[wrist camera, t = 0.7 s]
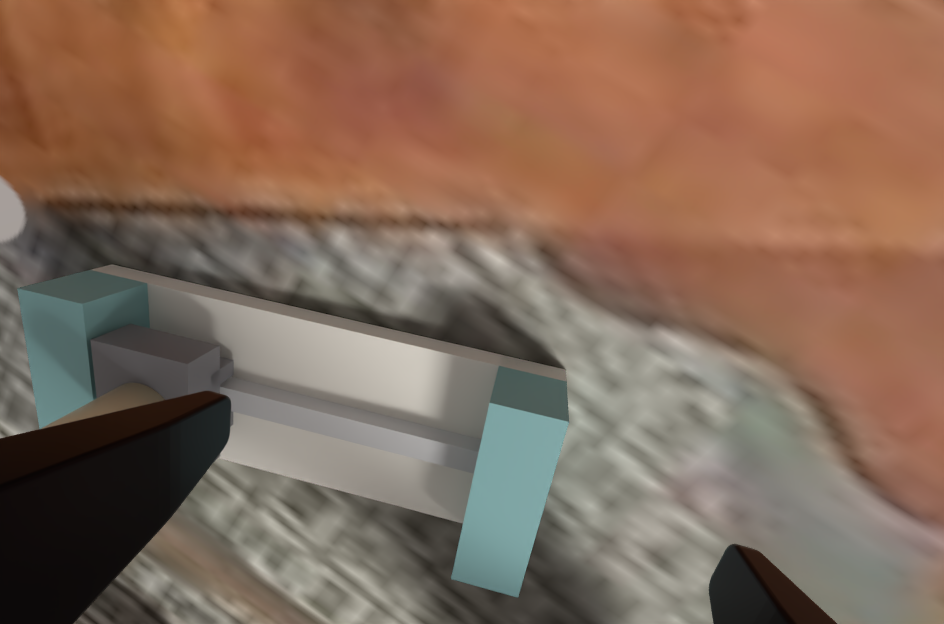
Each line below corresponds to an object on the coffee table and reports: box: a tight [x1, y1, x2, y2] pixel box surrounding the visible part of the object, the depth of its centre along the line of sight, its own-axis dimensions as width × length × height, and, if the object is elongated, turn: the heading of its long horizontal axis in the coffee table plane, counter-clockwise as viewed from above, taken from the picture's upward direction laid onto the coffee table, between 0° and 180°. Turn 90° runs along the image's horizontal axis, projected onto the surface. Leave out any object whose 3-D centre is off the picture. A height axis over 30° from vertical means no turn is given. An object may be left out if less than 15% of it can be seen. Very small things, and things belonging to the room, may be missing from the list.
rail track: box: [17, 264, 569, 598], centre depth 22 cm, size 9×23×4 cm, turn 79°
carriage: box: [41, 324, 234, 460], centre depth 20 cm, size 6×4×8 cm
